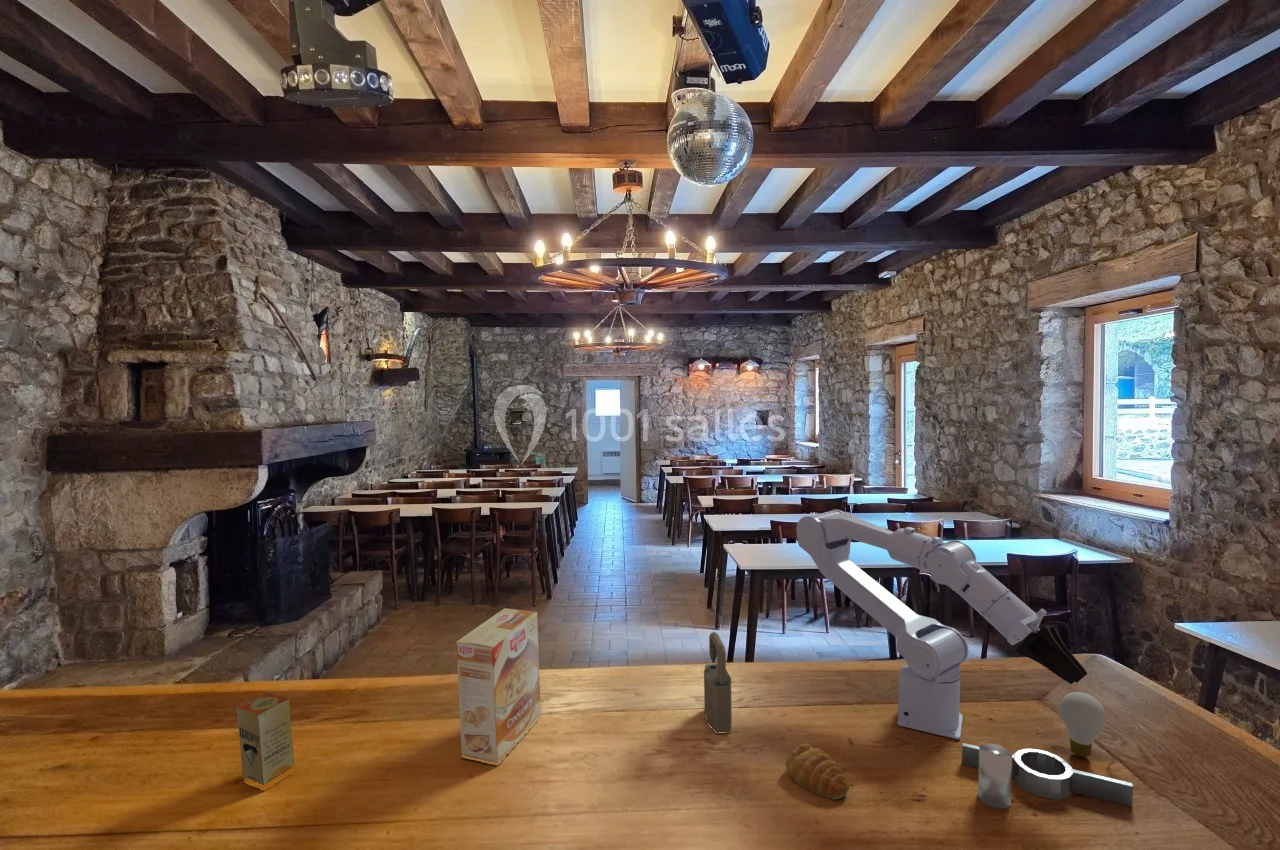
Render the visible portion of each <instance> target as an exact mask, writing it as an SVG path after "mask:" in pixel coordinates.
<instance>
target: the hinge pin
mask: <svg viewBox="0 0 1280 850" xmlns="http://www.w3.org/2000/svg"><path fill="white" fill-rule="evenodd" d="M978 747H979V768H978V781H977V782H978V784H977V786H978V787H977V796H978V797H977V798H978V799H979V800H980V801H981V803H983V804H984V805H986V806H987V807H988V806H989V807H990V808H994V809H996V810H997V809H999V810H1005V809H1008V808H1009V807H1011V805H1012V802H1011V801H1012V778H1013V777H1012V755H1013V754H1012V752H1011V750H1009V749H1008V748H1006V747H1005V746H1002V745H1000V744H996V743H992V742H991V743H989V742H987V743H982V744H980V745H979V746H978Z"/></svg>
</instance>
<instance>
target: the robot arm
mask: <svg viewBox="0 0 1280 850" xmlns="http://www.w3.org/2000/svg"><path fill="white" fill-rule="evenodd" d="M796 537H797V542H798V543H797V544H798V546H799V547H800V548H801V549H802V550H803V551H805V553H807V554H808V555H809V556H810V557H811V560H812V561H813V562H814V564H815V566H816V567H817V568H818V570H819V572H820V573H821V575H823V576H824V577H825V578H826V579H827V580H828V581H829V582H831V584H833V586H836V588H838V589H839V590H840V591H841V593H844V595H846V596H847V597H848V598H849V599H850V600H851V601H853V602H854V603H855V604H856V605H857V606H859V607H860V608H861V609H862V610H863V611H864V612H865V613H867V614H868V615H869V616H870V617H871V618H872V619H874V620H875V621H876V622H877V623H879V624H880V626H882V627H883V628H885V629H886V630H887V631H888V632H889V633H890V634H891V635H892V636H894V637H895V639H896V640H895V650H896V652H897V653H898V654H899V655H901V656H902V658H903V659H904V660H905V662H906V663H907V665H904V664H903V665H901V667H900V671H899V680H898V699H897V708H898V711H897V712H898V715H897V717H898V718H897V725H898V726H900V727H903V728H904V727H905V728H909V729H912V730H916V731H921V732H925V733H930V734H933V735H938V736H943V737H946V738H951V739H955V740H960V739H961V735H962V729H963V727H962V726H963V719H964V715H963V714H962V713H960V700H961V698H960V696H961V694H960V691H961V690H960V689H961V663H964V661H966V660H967V658H968V656H969V645H968V643H967V641H966V638H965V637H964V636H963V634H962V633H961V632H960V631H958V630H957V629H955V628H954V627H951V626H947V625H944V624H942V623H941V622H939V621H938V620H937V619H936V618H932V617H928V616H924V615H920V614H917V613H916V612H915V611H914V610H912V609H911V608H910V607H909V606H908V605H906V604H905V603H903V602H902V601H901V600H900V599H899V598H897V596H895V595H894V594H892V593H891V592H890V591H888V589H886V588H885V587H884V586H883V585H881V584H880V583H879V582H878V581H876V580H875V579H874V578H873V577H871V576H870V575H868V574H867V573H866V572H865V571H863V570H862V569H861V567H859V566H857V564H855V563H854V562H853V561H851V560H850V557H849V556H850V553H851V543H852V542H851V541H852V540H853V541H855V542H856V541H857V542H860V543H863V544H865V545H866V544H867V545H869V546H872V547H876V548H878V549H879V548H880V549H883V550H886V551H887V553H888V555H889V557H890V558H891V559H892V560H894V561H896V562H899V563H901V564H904V565H907V566H910V567H912V568H916V569H918V570H921V571H923V572H926V573H929V575H930V576H929V578H930V580H932V581H933V582H935V583H938V584H939V585H946V586H947V587H949V588H950V589H951V590H952V591H953V592H955V593H956V594H957V595H959V596H960V597H961V598H962V599H963V600H964V601H965V602H966V603H968V605H969V606H970V607H972V608H973V609H974V610H975V611H976V613H977V612H978V614H979V615H980V616H982V617H983V619H984V620H986V621H987V622H988V623H989V624H990V625H991V626H993V628H995V629H996V630H997V632H999V633H1000V634H1001V635H1002V636H1003V637H1004V638H1005V639H1006V640H1007V642H1008V644H1010V645H1011V646H1014V645H1016V644H1018V643H1019V642H1022V643H1020V645H1018V646H1017V647H1016V648H1015V650H1014V651H1015V652H1016V653H1017V654H1018V655H1021V656H1023V657H1026V658H1029V659H1031V660H1033V661H1034V662H1036V663H1038V664H1039V665H1041V666H1042V667H1045V668H1046V669H1047V670H1049V671H1050V672H1052V673H1054V675H1056V677H1059V678H1061V679H1062V681H1063V680H1064V681H1065V682H1067V683H1069V684H1070V685H1072V684H1074V683H1079V682H1080V681H1081V680H1082V679H1083V678H1085V676H1087V675H1088V672H1087V671H1086V669H1085V668H1084V666H1083V665H1082V664H1081V663H1080V662H1079V661H1078V660H1077V658H1076V657H1075V656H1074V654H1072V652H1071V651H1070V650H1069V649H1068V647H1067V646H1066V645H1065V643H1064V641H1063V640H1062V637H1061V636H1060V634H1059V632H1058V629H1056V628H1055V627H1054V626H1051V627H1049V625H1044V626H1042V627H1041V628H1039V627H1040V625H1041V622H1042V620H1043V617H1044V616H1046V614H1047V613H1048V612H1047V611H1046V610H1045V609H1044V608H1041V609H1039V610H1038V611H1037V612H1035V611H1034V610H1033V609H1031V608H1030V607H1029V606H1028V605H1027V604H1026V603H1025V602H1023V601H1022V600H1021V599H1020V598H1019V597H1018V596H1016V594H1014V593H1013V592H1012V591H1011V590H1010V589H1009V588H1008V587H1006V586H1005V585H1004V584H1003V583H1002V582H1000V581H999V580H998V579H997V578H996V577H995V576H993V574H992V573H990V572H989V571H988V570H987V569H986V568H984V567H983V566H982V565H981V564H980V563H979V562H978V561H977V557H976V554H975V552H974V550H973V549H972V548H971V547H970V546H969V545H967V544H966V543H964V542H962V541H960V540H959V539H955V540H954V539H953V540H950V541H947V542H944V541H943V540H942V538H941V537H938V536H933V537H931V536H928V535H925V534H922V533H919V532H916V528H915V527H911V526H907V527H903V528H898V529H896V530H895V531H893V530H890V529H887V528H884V527H882V526H879V525H877V524H875V523H872V522H869V521H867V520H864V519H862V518H859V517H858V516H855V515H853V514H852V513H851V512H850V511H849V512H848V511H842V510H840V509H837V508H836V509H831V510H829V511H826V512H822V513H821V512H820V513H818V514H814V515H805V516H803V517H800V519H799V520H798V522H797V524H796Z"/></svg>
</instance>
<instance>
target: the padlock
mask: <svg viewBox="0 0 1280 850" xmlns="http://www.w3.org/2000/svg"><path fill="white" fill-rule="evenodd" d="M708 643H709V644H708V645H709V647H708V648H709V649H708V651H709V656H710V660H711V662H712V663H711V664H705V666H704V670H703V683H704V684H703V687H704V688H703V690H704V691H703V693H704V695H703V696H704V716H705V715H706V718H707V720H706V722H707V721H708V723H709V725H710V726H711V727H712V729H714V730H715V731H716V732H717V733H718V732H729V731H732V726H731V724H732V725H733V721H732V718H733V717H732V715H733V713H732V711H733V710H732V677H731V676H730V674H729V672H728V670H727V664H726V663H727V661H726V660H727V659H726V657H727V656H726V653H727V652H726V649H725V648H726V647H725V644H724V643H723V641H722V639H721V637H720V636H719V634H718V633H717V631H716V632H715V631H712V632H711V633H710V634H709V637H708ZM716 661H717V662H716ZM715 662H716V663H715ZM706 718H705V719H706ZM708 723H707V724H708ZM709 725H708V726H709ZM712 729H711V730H712Z"/></svg>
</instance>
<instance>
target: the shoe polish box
mask: <svg viewBox="0 0 1280 850" xmlns="http://www.w3.org/2000/svg"><path fill="white" fill-rule="evenodd" d="M290 707H291V705H290V698H287V697H284V696H281V695H277V694H274V693H272V692H267V693H264V694H263V695H260V696H258V697H256V698H254V699H252V700H250V701H248V702H246V703H244V704H241V705H240V706H238V707H236V712H237V713H236V715H237V726H238V737H239V738H238V739H239V746H240V747H239V749H240V758H241V759H240V760H241V761H240V762H241V770H242V777H243V776H244V777H245V778H248V779H250V780H253V781H254V782H258V783H259V784H262V785H265V784H267V783H268V782H270V781H271V780H273V779H275V778H276V777H278V776H279V775H281V774H283V773H284V772H286V771H287V770H289V769H291V768H292V767H293V766H294V767H295V758H294V748H293V747H294V746H293V735H292V731H293V730H292V720H291V708H290Z"/></svg>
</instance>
